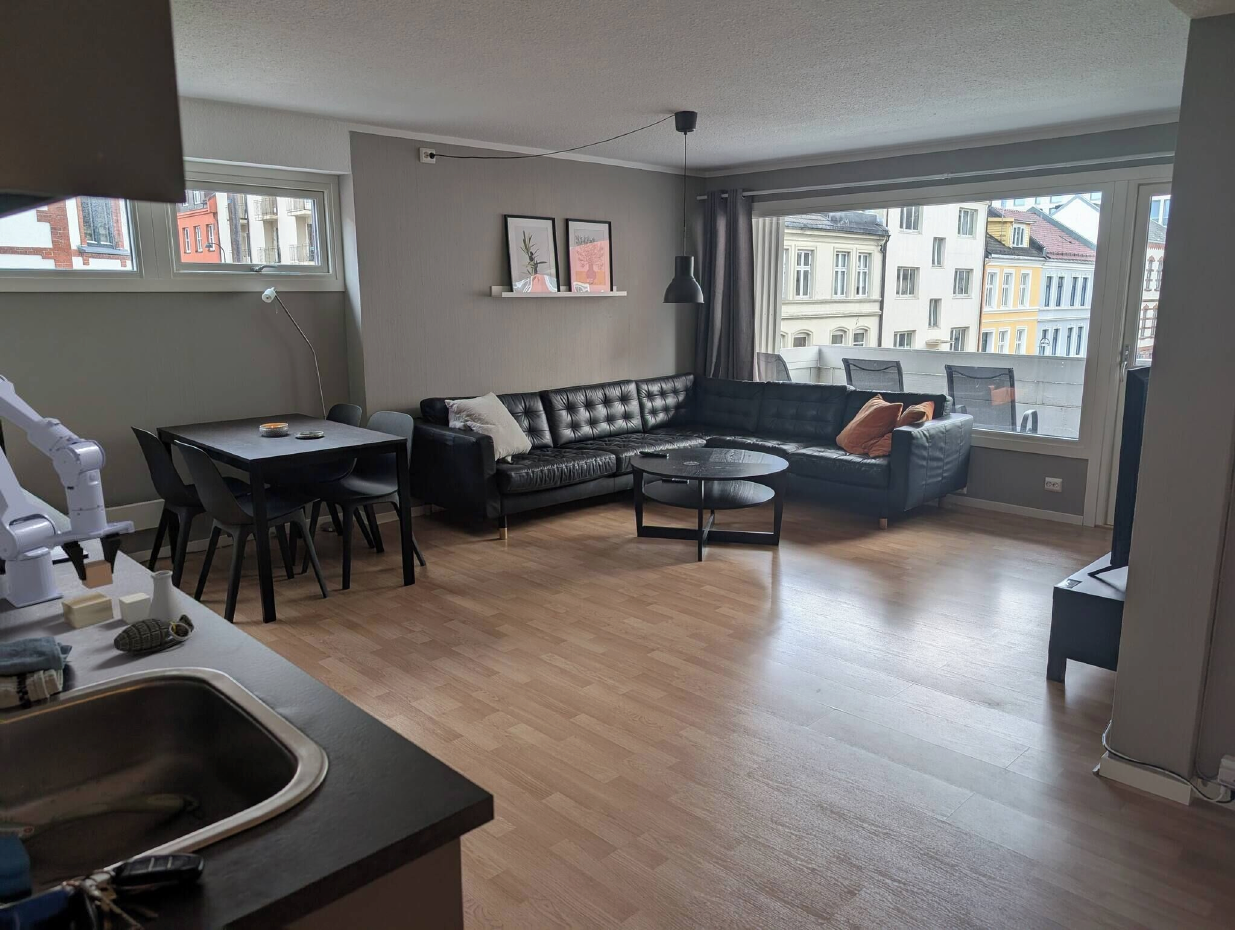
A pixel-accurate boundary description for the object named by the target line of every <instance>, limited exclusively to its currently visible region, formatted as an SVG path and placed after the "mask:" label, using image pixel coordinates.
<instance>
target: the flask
mask: <svg viewBox="0 0 1235 930" xmlns="http://www.w3.org/2000/svg"><path fill="white" fill-rule="evenodd" d="M172 575H173V571H171V570H158V571H155V572H153V573H152V574H150V578H151V579H152V581H153V582H152V583H153V597H152V598H151V607H150V611H149V614H148V618H147V619H152V618H158V619H161V621H167V622H178V621H179V619H180V617H181V615H183V614H185V615H187V616H188V618H189V619H190V620H191V622H192V621H193V619H192V618H191V616H190V614H189V613H188V611H187V610H186V608H185V606H184V605H183V603H182V602H181V599H180V598H179V596H178V594H177V592H176V590H175V588H174V585H173V582H172Z"/></svg>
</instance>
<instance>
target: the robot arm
mask: <svg viewBox="0 0 1235 930" xmlns="http://www.w3.org/2000/svg"><path fill="white" fill-rule="evenodd" d="M1 416H2V417H3V418H5V419H7V420H9V421H11V422H12V423H13V424H14V425H16V426H18V427H19V428H21V429H22V430H24V431H26V432H27V433H26V434H27V436H26V437H27V440H28V441H29V443H31V444H32V445H34V447H36V448H37V449H38V450H40V451H41V452H43V453H44V454H45V455H47V457H49V458H50V459H51V460H52V465H53V468H54V469H55V471H56V473H58V475H59V477H60V478H59V479H60V483H62V486H64V490H65V496H66V503H67V509H68V510H67V511H68V516H69V521H70V522H69V523H70V529H71V530H67V531H64V532H60V533H59V529H58V526H57V524H56V523H55V521H54V520H53V519H52V518H51V517H50V516H49V515H48V514H47V512H46V510H45V508H44V507H42V506H39V505H37V504H34V503H32V502H29V500H28V499H27V497H26V495H25V493H24V491H23V490H22V487H21V485H20V483H19V481H18V479H17V477H16V475H15V473H14V471H13V468H12V466H11V465H10V463H9V461H8V459H7V457H6V455H5V453H4V450H3V449H2V447H1V445H0V558H1V560H4V561H5V564H4V570H5V576H6V580H7V587H8V593H5V594H3V597H4V599H6V600H7V601H8V602H9V603H11V604H12V605H13V606H15V608H22V607H26V606H29V605H30V606H31V605H35V604H38V603H42V602H47V601H51V600H54V599H60V598H64V597H65V593H64V592H62V591H61V590H59V589H57V585H56V578H55V571H54V570H55V569H54V566H53V559H52V552H51V551H53V550H55V548H57V547H60V548H61V550H63V552H64V553H65V555H66V556H67V557H68V559H69V560H70V562H71V563H72V566H74V569H75V572H76V574H77V578H78V580H80V581H81V582H82V581H85V580H86V571H85V566H84V563H85V560H84V554H85V553H84V547H82V546H81V543H82V542H87V541H92V540H96V539H97V540H98V539H99V541H100V544H101V545H100V546H101V549H102V553H103V560H105V561H107V562H109V563H110V565H111V572H112V575H113V574H114V573H115V571H114V570H115V563H116V559H117V555H118V551H119V549H120V546H121V545H122V543H123V536H121V534H125V533H126V534H127V533H134V532H135V525H134V522H133V521H131V520H125V521H120V522H110V523H107V515H106V509H105V508H106V507H105V501H104V495H103V488H102V480H101V473H100V470H101V469H102V468H103V467H104V466H105V465H106V453H105V451H104V449H103V448H102V446H101V445H100V444H99V442H97V441H96V440H94V439H87V440H86V439H85V438H80V436H77V435H76V434H74V433H73V432H72V431H71V430H69V429H68V428H67V427H65V426H64V425H62V424H61V421H60V420H59V419H57V418H52V417H46V418H43V417H42V416H41V415H39V414H38V413H37V412H36V411H35V410H34V409H33V408H32V407H31V406H30V405H29V404H27V403H26V402H25V400H23V399H22V398H21V397H20V396H18V394H16V390H15V386H14V383H13V382H12V381H10V380H8V379H7V378H6V377H5V376H4V375H2V374H0V417H1Z"/></svg>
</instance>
